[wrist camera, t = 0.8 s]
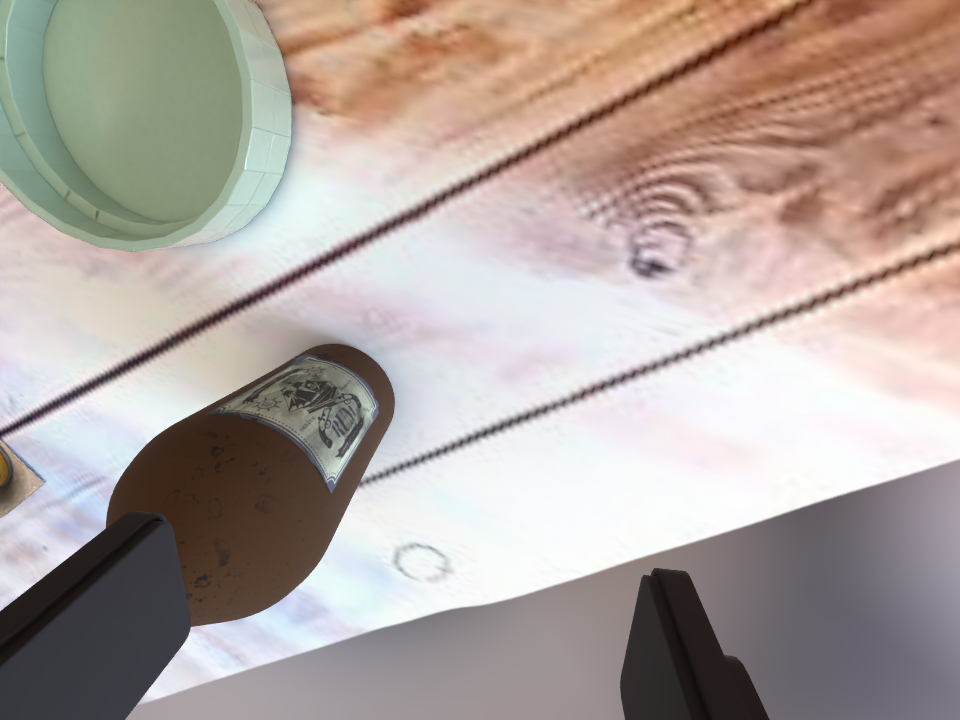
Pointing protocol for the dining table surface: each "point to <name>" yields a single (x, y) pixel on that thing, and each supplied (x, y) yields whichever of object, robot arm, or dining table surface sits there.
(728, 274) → the dining table surface
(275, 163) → the bowl
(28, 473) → the condiment
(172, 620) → the robot arm
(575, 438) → the dining table surface
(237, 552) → the olive oil
